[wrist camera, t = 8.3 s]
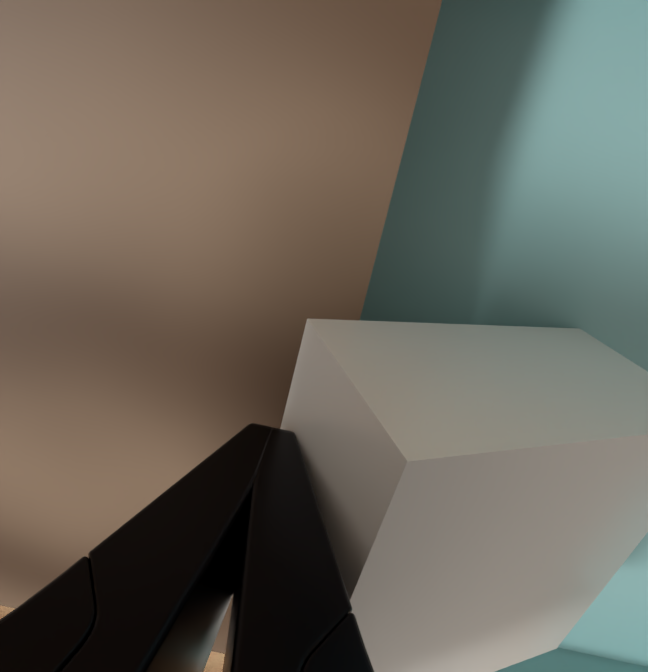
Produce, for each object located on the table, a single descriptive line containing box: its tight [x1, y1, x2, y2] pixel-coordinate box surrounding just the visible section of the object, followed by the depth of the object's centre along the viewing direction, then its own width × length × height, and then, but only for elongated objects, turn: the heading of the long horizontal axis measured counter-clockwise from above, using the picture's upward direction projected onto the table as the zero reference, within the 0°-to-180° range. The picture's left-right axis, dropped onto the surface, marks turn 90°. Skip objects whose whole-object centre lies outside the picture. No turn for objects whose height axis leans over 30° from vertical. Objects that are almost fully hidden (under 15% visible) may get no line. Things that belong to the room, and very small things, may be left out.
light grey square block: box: [280, 319, 648, 672], centre depth 9 cm, size 6×6×3 cm
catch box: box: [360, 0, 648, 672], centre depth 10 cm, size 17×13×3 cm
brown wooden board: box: [0, 0, 442, 654], centre depth 10 cm, size 16×13×2 cm
